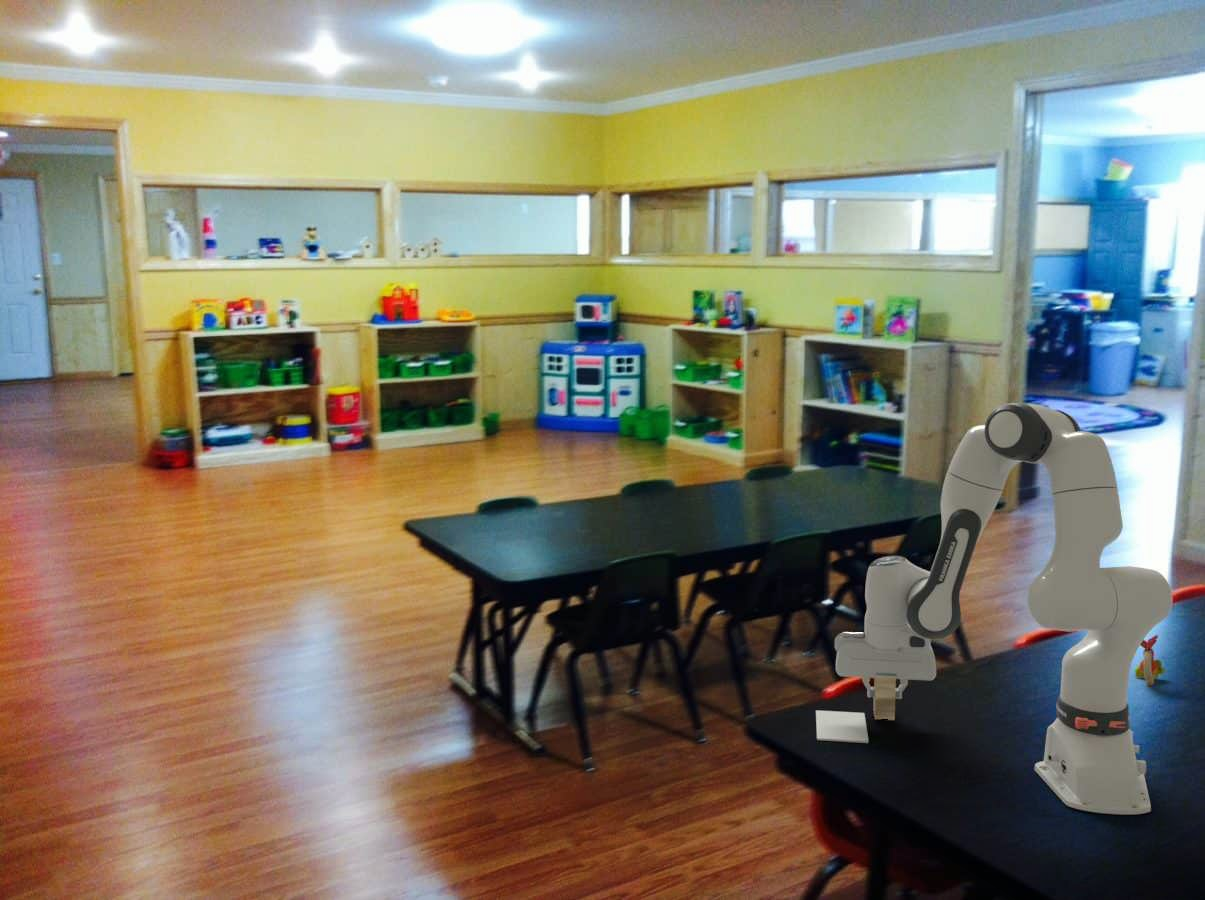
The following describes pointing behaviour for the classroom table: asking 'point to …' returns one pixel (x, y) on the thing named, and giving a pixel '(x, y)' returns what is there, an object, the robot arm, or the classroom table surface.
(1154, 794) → the classroom table surface
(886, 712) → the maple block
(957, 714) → the classroom table surface
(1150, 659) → the bird rattle
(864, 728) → the grey mat
